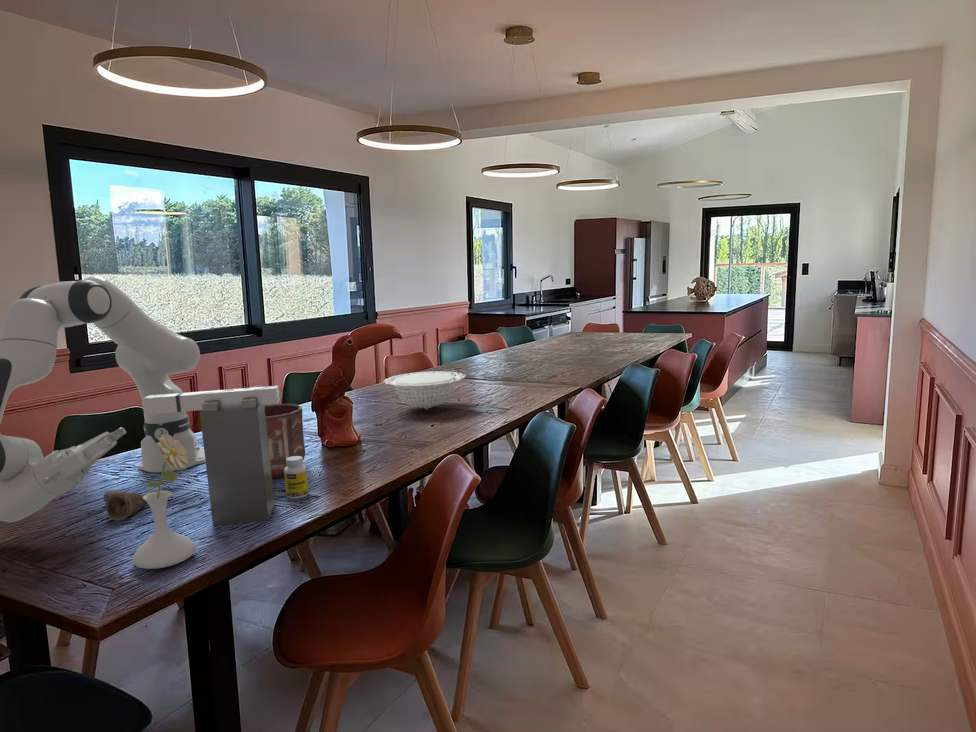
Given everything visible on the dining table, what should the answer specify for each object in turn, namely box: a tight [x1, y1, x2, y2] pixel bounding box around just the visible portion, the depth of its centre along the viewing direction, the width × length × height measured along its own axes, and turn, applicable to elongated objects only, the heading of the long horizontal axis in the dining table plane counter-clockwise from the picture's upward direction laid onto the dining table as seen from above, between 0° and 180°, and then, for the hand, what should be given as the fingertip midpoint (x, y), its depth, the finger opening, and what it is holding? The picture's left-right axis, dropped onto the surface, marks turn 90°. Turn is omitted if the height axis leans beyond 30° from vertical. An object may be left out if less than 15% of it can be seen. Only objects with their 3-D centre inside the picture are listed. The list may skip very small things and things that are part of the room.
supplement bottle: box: [284, 456, 309, 500], centre depth 165 cm, size 5×5×10 cm
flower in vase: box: [131, 434, 197, 570], centre depth 129 cm, size 13×11×25 cm
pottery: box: [264, 403, 306, 479], centre depth 184 cm, size 18×18×18 cm
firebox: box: [199, 398, 275, 527], centre depth 152 cm, size 10×12×28 cm
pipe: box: [103, 490, 149, 521], centre depth 160 cm, size 6×17×10 cm
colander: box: [382, 370, 467, 411], centre depth 256 cm, size 32×32×13 cm
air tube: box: [143, 385, 281, 415], centre depth 149 cm, size 4×28×4 cm, turn 101°
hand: (116, 435), depth 146 cm, fingers open, 8 cm apart
